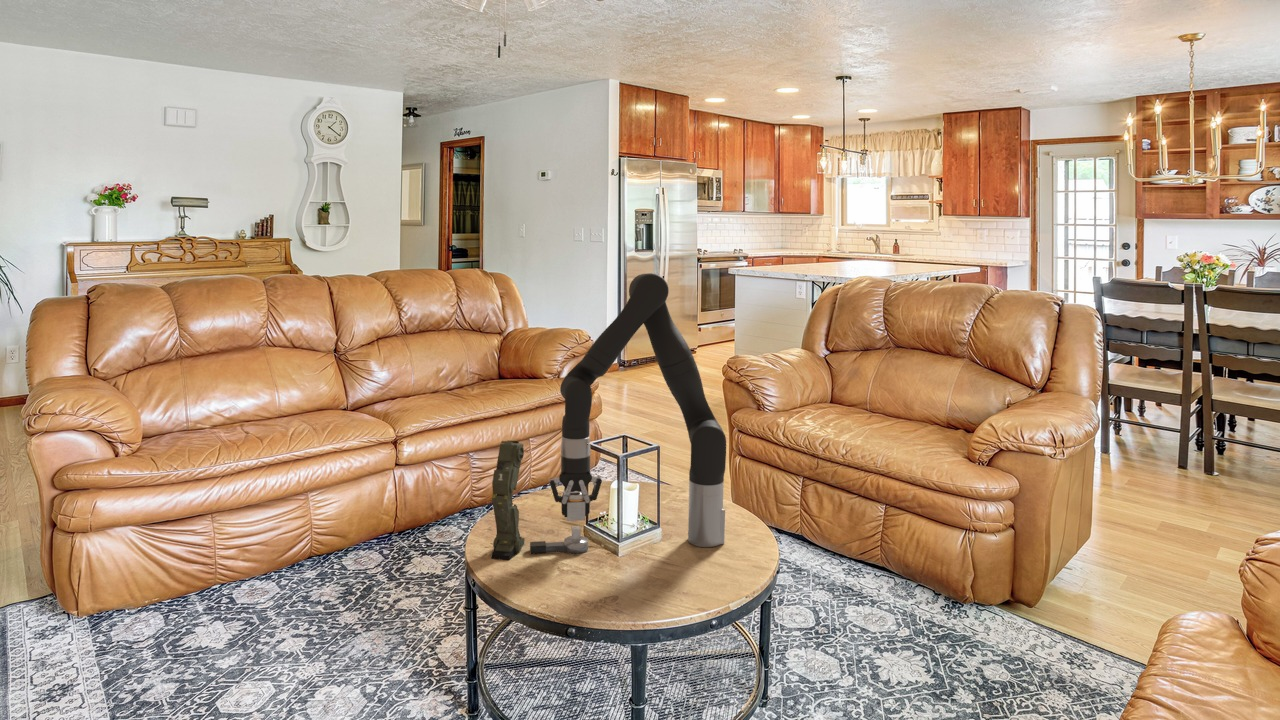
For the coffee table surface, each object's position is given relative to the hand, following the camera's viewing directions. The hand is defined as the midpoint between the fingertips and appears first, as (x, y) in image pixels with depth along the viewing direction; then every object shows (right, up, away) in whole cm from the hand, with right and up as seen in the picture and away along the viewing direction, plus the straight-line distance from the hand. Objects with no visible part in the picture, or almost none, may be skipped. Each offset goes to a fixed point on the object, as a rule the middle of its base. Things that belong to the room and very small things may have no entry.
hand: (575, 515), depth 197 cm
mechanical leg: (-18, -9, +1) cm, 20 cm away
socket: (0, -1, 0) cm, 1 cm away
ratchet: (-4, -9, +1) cm, 10 cm away
